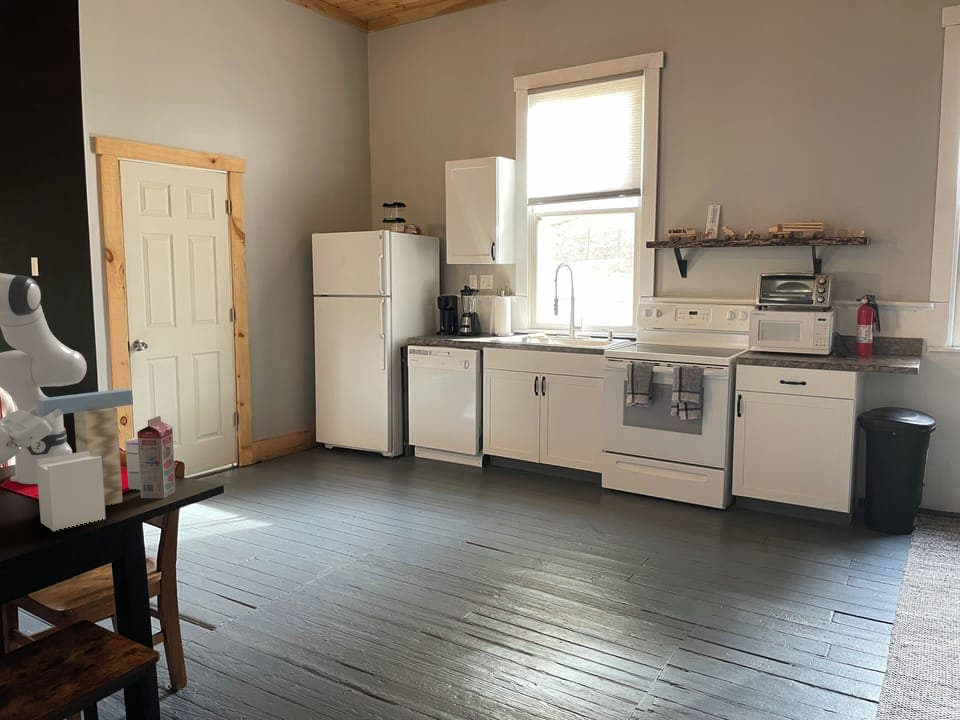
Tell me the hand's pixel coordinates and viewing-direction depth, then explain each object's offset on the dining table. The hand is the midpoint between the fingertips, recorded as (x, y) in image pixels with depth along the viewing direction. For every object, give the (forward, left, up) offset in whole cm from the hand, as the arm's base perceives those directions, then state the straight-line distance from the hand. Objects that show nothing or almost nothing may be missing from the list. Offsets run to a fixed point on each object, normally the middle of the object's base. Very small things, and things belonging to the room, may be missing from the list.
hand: (53, 407), depth 188 cm
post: (-5, +9, -28) cm, 29 cm away
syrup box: (-17, +18, -28) cm, 37 cm away
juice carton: (-8, +23, -28) cm, 37 cm away
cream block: (+9, +5, -28) cm, 29 cm away
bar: (-4, +7, -2) cm, 8 cm away
